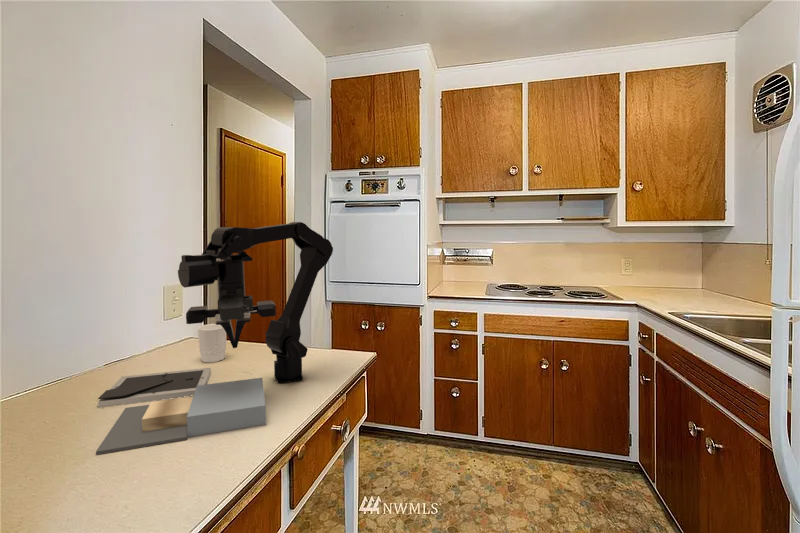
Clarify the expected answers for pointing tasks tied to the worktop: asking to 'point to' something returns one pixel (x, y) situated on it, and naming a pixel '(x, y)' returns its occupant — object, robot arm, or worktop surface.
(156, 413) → the coaster
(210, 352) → the white cup
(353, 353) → the worktop surface
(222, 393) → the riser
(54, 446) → the worktop surface
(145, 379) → the picture frame
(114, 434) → the rubber mat
